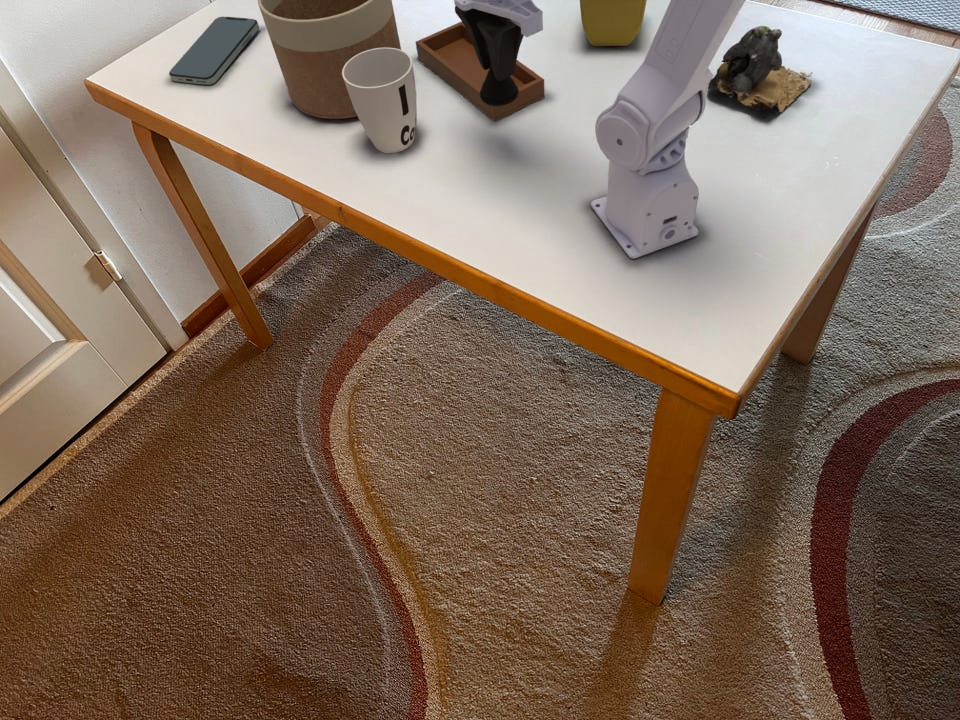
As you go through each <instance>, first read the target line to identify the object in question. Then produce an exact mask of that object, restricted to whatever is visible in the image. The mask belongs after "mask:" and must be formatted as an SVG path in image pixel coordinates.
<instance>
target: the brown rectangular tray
mask: <svg viewBox="0 0 960 720" xmlns="http://www.w3.org/2000/svg"><path fill="white" fill-rule="evenodd" d="M415 47H416V53H417V60H419V61H420V62H421V63H422V64H424V65H425V66H426V67H428V68H429V69H430V70H431V71H432V72H434V74H436V75H437V76H438V77H440V78H441V79H442V80H443V81H444V82H446V83H447V84H448V85H449V86H450V87H452V88H453V89H454V90H455V91H457V92H458V93H459V94H460V95H461V96H463V97H464V98H465V99H466V100H468V101H469V102H470V103H471V104H472V105H474V106H475V107H476V108H477V109H479V110H480V111H481V112H482V113H484V114H485V115H486V116H487V117H489V118H490V119H491V120H492V121H493V122H495V123H496V122H498V121H499V120H502V119H504V118H506V117H507V116H510V115H512V114H513V113H515V112H518V111H521V110H522V109H524V108H526V107H528V106H530V105H532V104H534V103H536V102H538V101H540V100H542V99H544V98H545V95H546V94H545V79H544V78H543V77H541V76H540V75H539V74H538V73H536V72H535V71H533V70H532V69H530V68H529V67H527V65H526V64H523V63H522V62H521V61H519V60H518V59H517V61H516V66H515V70H514V74H513V75H511V76H510V77H511V78H512V79H513V80H514V82H515V84H516V86H517V87H518V90H519V94H518V97H517V98H516V99H515V100H514V101H513V102H511V103H509V104H507V105H502V106H492V105H488V104H486V103H484V102H483V101H482V100H481V98H480V91H481V89H482V85H483V83H484V81H485V79H486V76H487V73H488V71H489V69H487V70H484V69H483V68H482V67H481V64H480V62H479V59H478V57H477V54H476V51H475V48H474V45H473V43H472V40H471V38H470V36H469V33H468V31H467V29H466V28H465V26H464V24H463V22H462V21H461V20H460V21H459V22H457V23H455V24H453V25H450V26H448V27H446V28H443V29H440V30H439V31H436V32H433V33H432V34H429V35H428V36H425V37H423V38H420V39H419V40H416V41H415Z"/></svg>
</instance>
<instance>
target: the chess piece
mask: <svg viewBox="0 0 960 720" xmlns="http://www.w3.org/2000/svg"><path fill="white" fill-rule="evenodd" d="M490 16H494V14H491V13H489V14H488V16H487V17H490ZM484 46H485V48H486V50H487V52H488V53H489V49H488V46H487V43H486V41H485V42H484ZM489 56H490V53H489ZM518 94H519V90H518V87H517V86H516V84H515V82H514V80H513V79H512V78H511V77H510V76H509V77H507V78H505V79H503V80H501V81H499V80H497V79H496V78H495V75H494V72H493V69H492V63H491V58H490V68H489V71H488V73H487V76H486V79H485V81H484V83H483V85H482V89H481V91H480V98H481V100H482V101H483V102H484V103H486V104H488V105H492V106H502V105H507V104H509V103H511V102H513V101H514V100H515V99H516V98H517V97H518Z"/></svg>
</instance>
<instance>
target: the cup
mask: <svg viewBox="0 0 960 720" xmlns="http://www.w3.org/2000/svg"><path fill="white" fill-rule="evenodd" d="M413 65H414V64H413V59H412V57H411V55H410V54H409V53H407V52H406V51H404V50H402V49H401V50H400V49H396V48H375V49H370V50H367V51H364V52H361V53H359V54H357V55H355V56H354V57H352V58H351V59H350V60H349V61H348V62H347V63H346V64H345V65H344V67H343V70H342V76H343V79H344V81H345V84H346V87H347V90H348V93H349V96H350V99H351V101H352V104H353V107H354V109H355V112H356V114H357V116H356V117H357V118H358V120H359V122H360V124H361V126H362V128H363V130H364V133H365V134H366V135H367V137H368V138H369V140H370V141H371V143H372V144H373V145H374V147H375V148H376V149H377V150H378V151H379V152H382V153H386V154H395V153H400V152H403V151H405V150H406V149H408V148H410V146H412V145H413V143H414V141H415V135H416V129H417V122H418V118H417V117H418V115H417V114H418V113H417V104H418V103H417V88H416V81H415V72H414V66H413Z"/></svg>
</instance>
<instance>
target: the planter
mask: <svg viewBox="0 0 960 720" xmlns="http://www.w3.org/2000/svg"><path fill="white" fill-rule="evenodd" d="M257 4H258V8H259V10H260V13H261V16H262V19H263V22H264V26H265V28H266V30H267V31H266V32H267V34H268V37H269V39H270V42H271V45H272V49H273V50H274V54H275V57H276V59H277V64H278V65H279V69H280V71H281V74H282V77H283V80H284V83H285V85H286V88H287V91H288V94H289V97H290V100H291V102H292V103H293V104H294V106H295V107H296V108H297V109H298V110H300V111H301V112H302V113H304V114H306V115H308V116H312V117H314V118H315V117H316V118H319V119H320V118H321V119H327V120H328V119H330V120H340V119H349V118H354V117H355V118H356V117H358V116H357V114H356V112H355V109H354V107H353V104H352V101H351V99H350V96H349V93H348V90H347V87H346V84H345V81H344V79H343V76H342V70H343V67H344V65H345V64H346V63H347V62H348V61H349V60H350V59H351V58H352V57H354V56H355V55H357V54H359V53H361V52H364V51H367V50H370V49H375V48H396V49H400V50H402V46H401V42H400V35H399V32H398V31H399V30H398V26H397V21H396V16H395V11H394V5H393V1H392V0H257Z"/></svg>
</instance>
